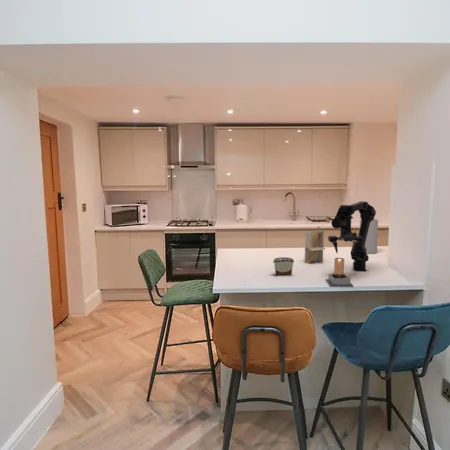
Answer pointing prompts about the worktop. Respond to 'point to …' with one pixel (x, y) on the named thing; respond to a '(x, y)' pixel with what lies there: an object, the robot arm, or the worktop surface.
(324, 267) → the worktop surface
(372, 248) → the grey tall block
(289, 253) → the worktop surface
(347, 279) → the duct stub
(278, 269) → the food container
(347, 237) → the robot arm
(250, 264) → the worktop surface
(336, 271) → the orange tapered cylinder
